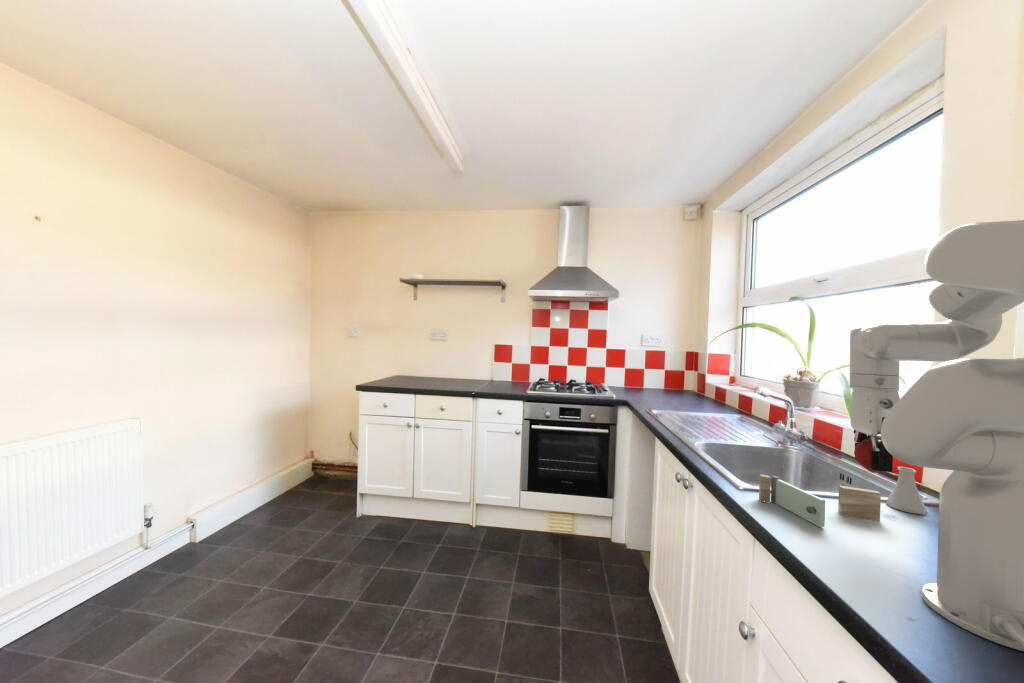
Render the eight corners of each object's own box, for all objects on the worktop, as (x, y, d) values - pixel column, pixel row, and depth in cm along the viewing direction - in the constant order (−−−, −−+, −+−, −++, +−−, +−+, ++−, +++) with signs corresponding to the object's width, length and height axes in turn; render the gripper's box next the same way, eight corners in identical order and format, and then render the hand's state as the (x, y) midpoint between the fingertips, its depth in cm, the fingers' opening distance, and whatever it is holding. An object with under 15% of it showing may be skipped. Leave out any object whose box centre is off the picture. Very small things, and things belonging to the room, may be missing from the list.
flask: (932, 518, 84) (933, 476, 84) (888, 509, 88) (889, 469, 88) (922, 507, 89) (923, 468, 89) (881, 499, 94) (882, 461, 94)
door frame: (879, 521, 82) (880, 493, 82) (760, 501, 91) (761, 476, 91) (876, 518, 83) (876, 490, 83) (759, 498, 92) (759, 474, 92)
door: (816, 527, 78) (817, 499, 78) (766, 500, 91) (767, 476, 91) (825, 527, 78) (826, 498, 78) (774, 500, 91) (775, 475, 91)
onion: (865, 475, 74) (865, 437, 74) (847, 466, 80) (848, 431, 80) (899, 479, 73) (900, 440, 73) (879, 469, 78) (879, 433, 78)
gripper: (924, 387, 67) (923, 482, 67) (874, 380, 83) (873, 457, 83) (872, 385, 70) (871, 476, 70) (833, 378, 86) (832, 452, 86)
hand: (872, 465), depth 76 cm, fingers closed on onion, 5 cm apart
